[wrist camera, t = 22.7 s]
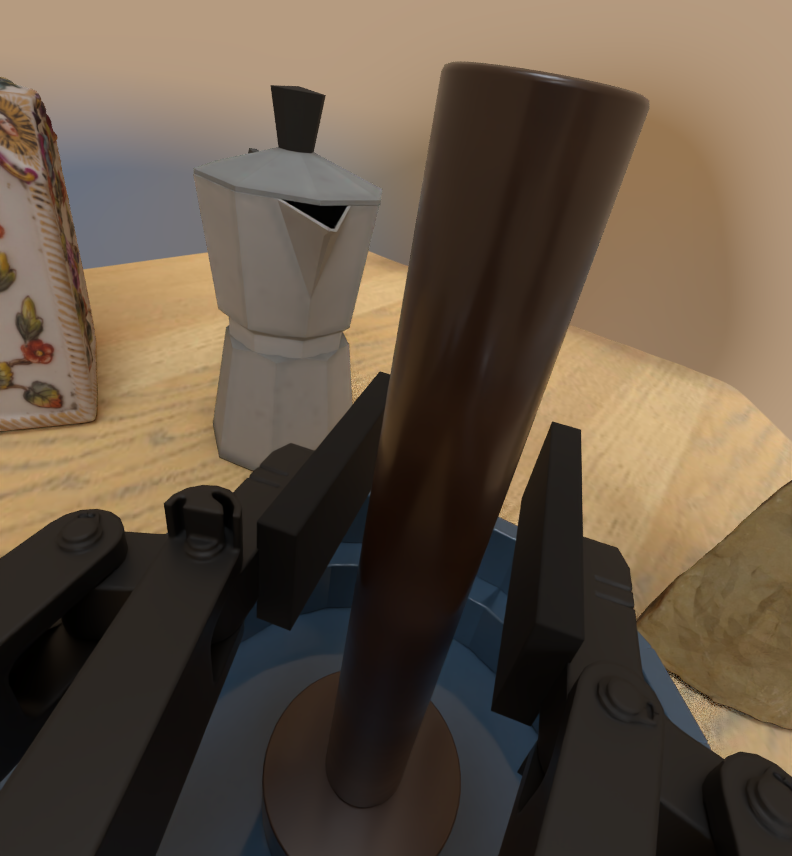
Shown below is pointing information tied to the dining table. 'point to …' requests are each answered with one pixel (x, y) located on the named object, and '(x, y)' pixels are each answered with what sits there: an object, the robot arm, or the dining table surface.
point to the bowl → (322, 655)
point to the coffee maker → (284, 283)
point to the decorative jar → (40, 278)
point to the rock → (734, 617)
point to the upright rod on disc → (449, 445)
